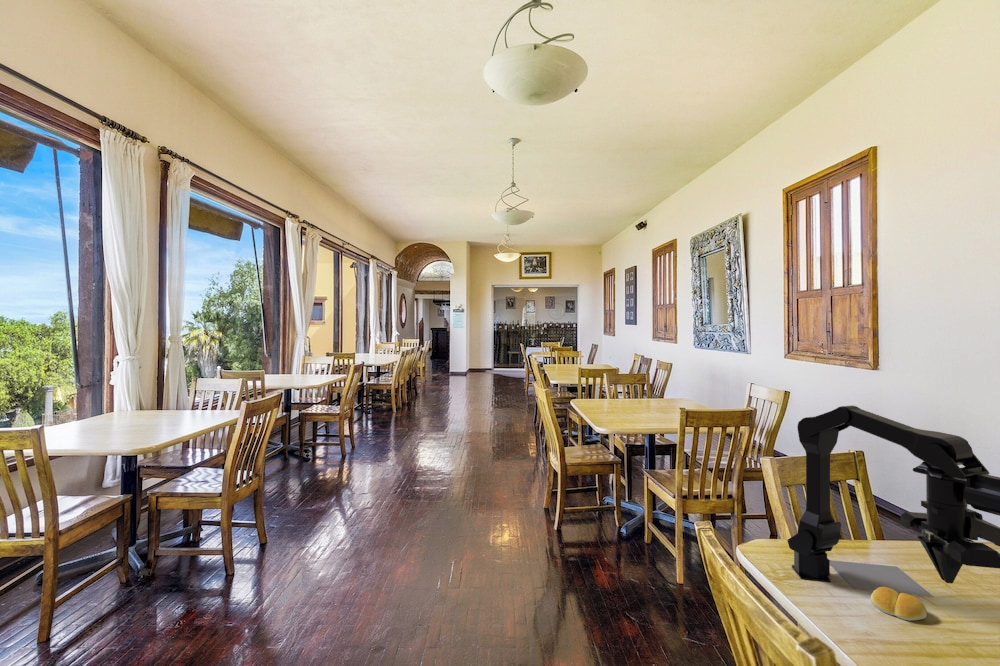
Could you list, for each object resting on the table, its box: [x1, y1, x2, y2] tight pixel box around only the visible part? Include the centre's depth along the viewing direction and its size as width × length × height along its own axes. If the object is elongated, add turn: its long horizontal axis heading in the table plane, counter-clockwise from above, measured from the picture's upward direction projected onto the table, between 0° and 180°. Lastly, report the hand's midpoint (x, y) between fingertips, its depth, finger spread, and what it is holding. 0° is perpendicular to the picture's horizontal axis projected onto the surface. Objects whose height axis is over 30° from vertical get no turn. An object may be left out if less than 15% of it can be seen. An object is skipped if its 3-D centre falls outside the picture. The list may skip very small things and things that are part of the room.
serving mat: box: [829, 559, 934, 598], centre depth 114 cm, size 16×14×1 cm
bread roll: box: [870, 587, 927, 622], centre depth 100 cm, size 8×9×4 cm
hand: (947, 581), depth 90 cm, fingers closed
